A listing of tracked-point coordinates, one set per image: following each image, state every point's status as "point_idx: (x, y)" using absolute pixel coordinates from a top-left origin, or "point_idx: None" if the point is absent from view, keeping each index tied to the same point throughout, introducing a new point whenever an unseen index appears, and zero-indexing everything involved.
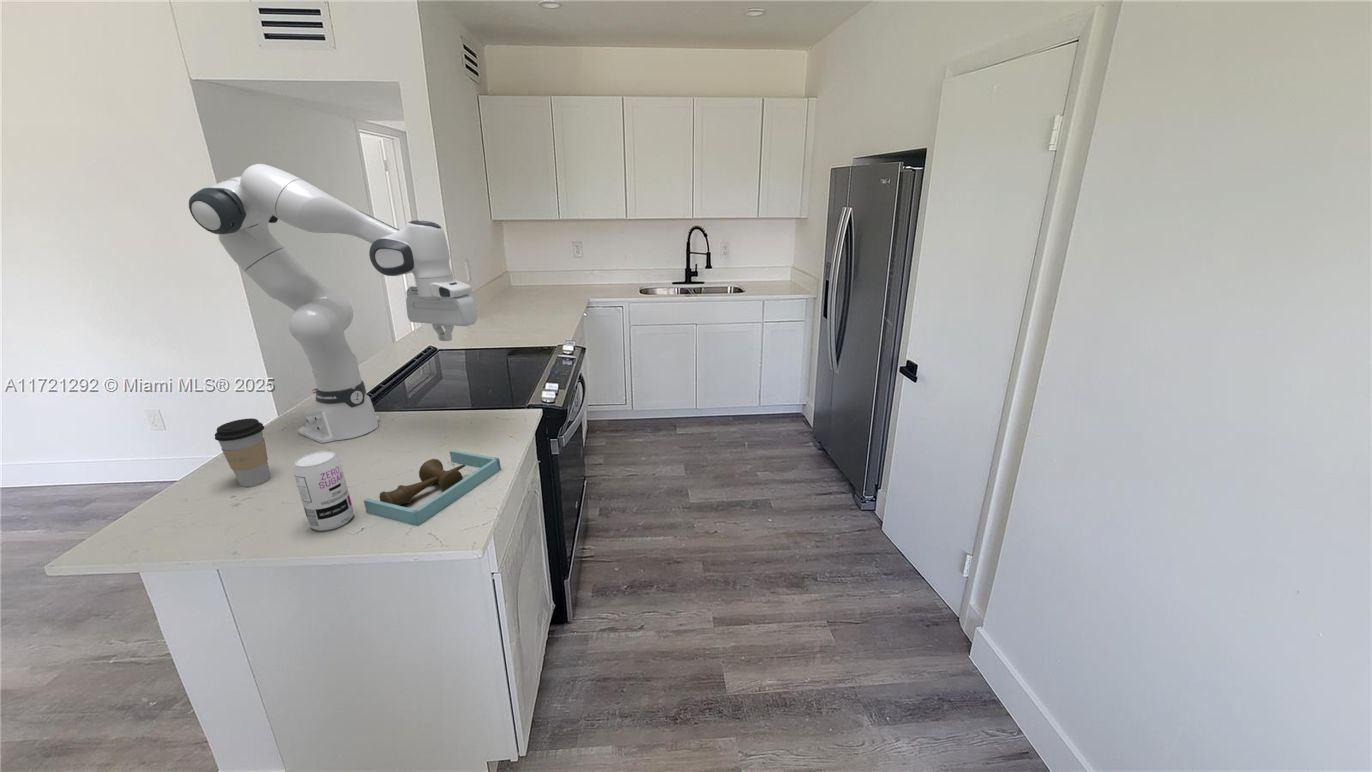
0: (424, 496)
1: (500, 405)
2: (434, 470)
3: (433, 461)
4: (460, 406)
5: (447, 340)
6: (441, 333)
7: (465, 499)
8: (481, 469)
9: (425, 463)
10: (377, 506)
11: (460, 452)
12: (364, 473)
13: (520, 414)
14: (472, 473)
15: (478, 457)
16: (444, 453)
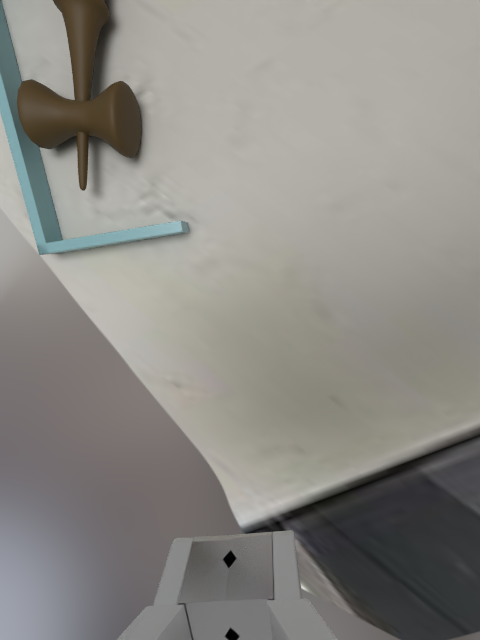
0: None
1: (355, 507)
2: (86, 104)
3: (104, 117)
4: (457, 464)
5: (172, 543)
6: (270, 632)
7: None
8: (23, 191)
9: (108, 94)
10: None
11: (149, 230)
12: (335, 60)
13: (260, 485)
14: (24, 165)
15: (90, 236)
16: (244, 246)
